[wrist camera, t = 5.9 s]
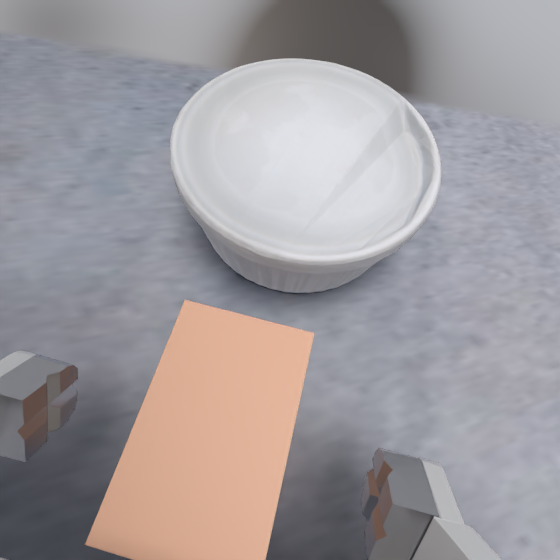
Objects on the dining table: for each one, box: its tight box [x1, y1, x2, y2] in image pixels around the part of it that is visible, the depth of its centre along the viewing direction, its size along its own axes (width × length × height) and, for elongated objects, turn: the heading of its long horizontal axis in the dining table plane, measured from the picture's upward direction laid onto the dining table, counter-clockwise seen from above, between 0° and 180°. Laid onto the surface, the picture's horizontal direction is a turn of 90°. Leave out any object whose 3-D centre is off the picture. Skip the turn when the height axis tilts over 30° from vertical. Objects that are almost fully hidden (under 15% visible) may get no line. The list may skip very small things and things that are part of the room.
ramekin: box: [170, 59, 442, 293], centre depth 17 cm, size 11×11×5 cm
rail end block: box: [85, 300, 314, 560], centre depth 10 cm, size 4×3×9 cm, turn 166°
